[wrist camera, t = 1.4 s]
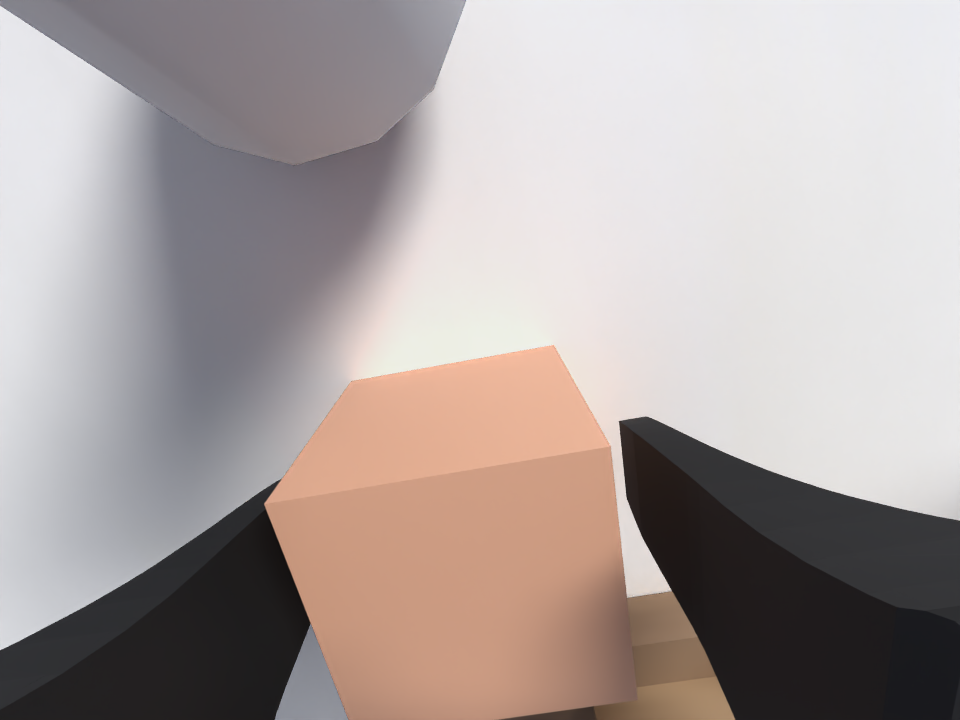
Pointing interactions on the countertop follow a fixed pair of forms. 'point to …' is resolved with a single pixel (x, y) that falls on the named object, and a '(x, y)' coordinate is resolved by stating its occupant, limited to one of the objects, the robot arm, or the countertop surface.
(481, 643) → the cube
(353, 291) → the countertop surface
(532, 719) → the base
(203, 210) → the countertop surface
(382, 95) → the salt shaker
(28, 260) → the countertop surface
